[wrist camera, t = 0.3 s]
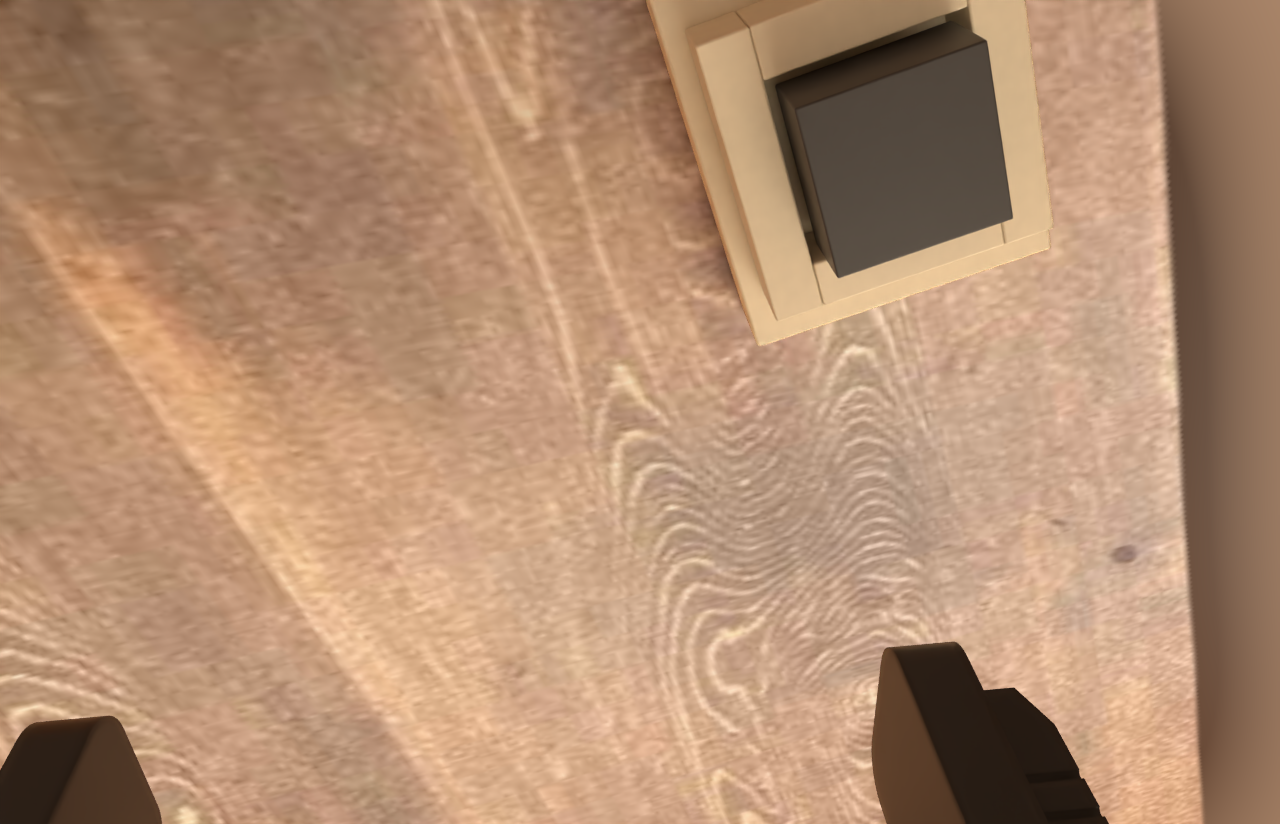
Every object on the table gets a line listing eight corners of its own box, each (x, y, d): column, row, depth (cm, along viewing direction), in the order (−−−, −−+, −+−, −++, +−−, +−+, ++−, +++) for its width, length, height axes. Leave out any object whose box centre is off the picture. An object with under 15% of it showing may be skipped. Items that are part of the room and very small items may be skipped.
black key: (774, 83, 22) (793, 108, 21) (952, 19, 22) (987, 39, 20) (816, 244, 24) (838, 279, 23) (979, 188, 24) (1014, 219, 22)
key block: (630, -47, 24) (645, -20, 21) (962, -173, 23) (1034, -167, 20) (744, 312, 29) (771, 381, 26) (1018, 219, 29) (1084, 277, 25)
